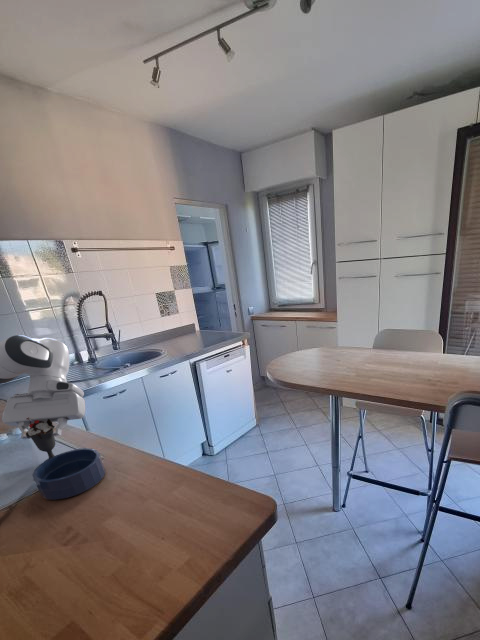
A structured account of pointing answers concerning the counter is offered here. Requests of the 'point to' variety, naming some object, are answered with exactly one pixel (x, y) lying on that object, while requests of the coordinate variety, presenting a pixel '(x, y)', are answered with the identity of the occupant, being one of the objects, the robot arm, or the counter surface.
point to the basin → (69, 473)
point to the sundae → (42, 435)
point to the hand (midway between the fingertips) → (41, 436)
